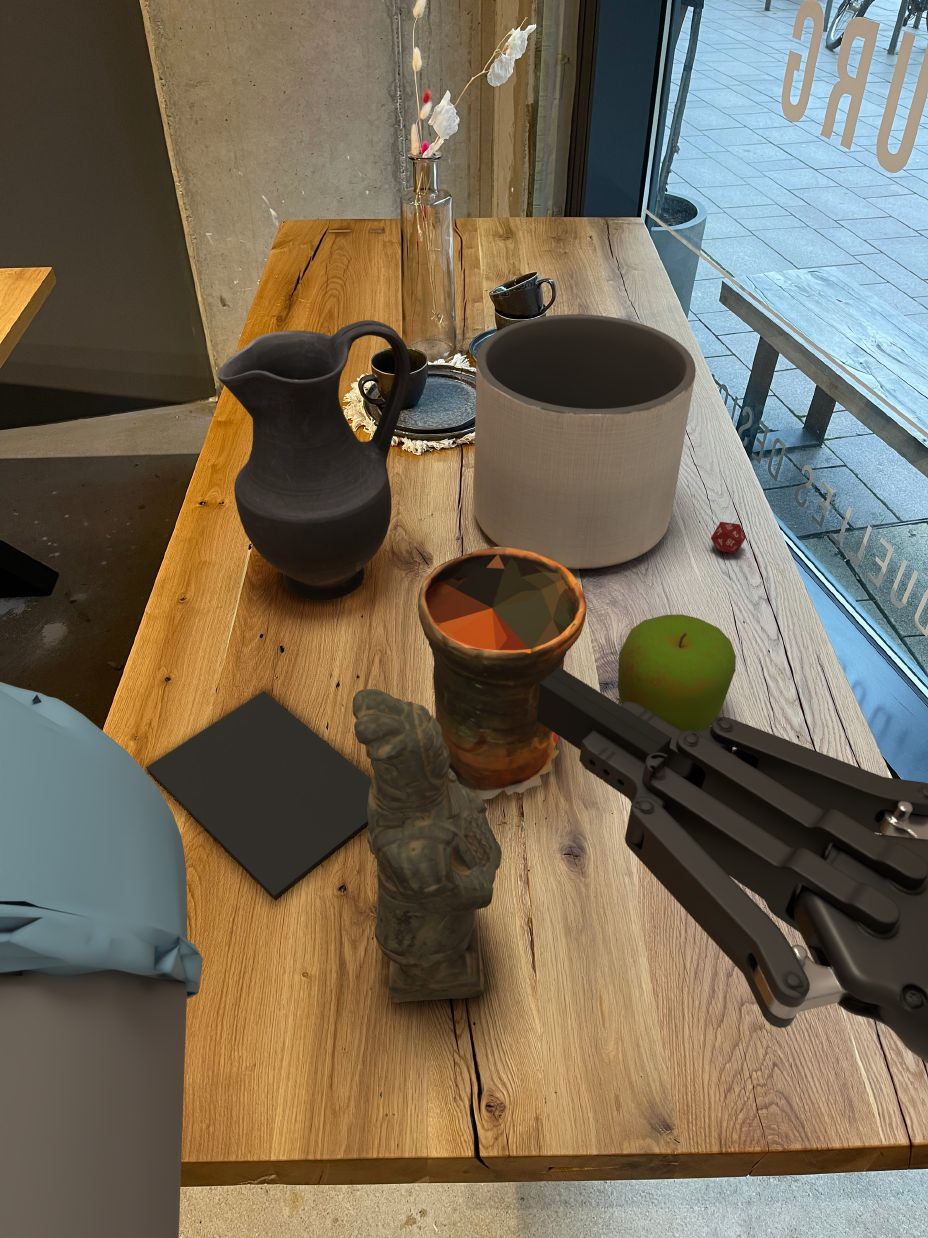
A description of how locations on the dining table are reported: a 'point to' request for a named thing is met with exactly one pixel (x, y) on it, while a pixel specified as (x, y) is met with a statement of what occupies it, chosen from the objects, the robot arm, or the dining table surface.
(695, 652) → the apple
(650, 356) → the planter
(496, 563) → the vessel
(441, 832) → the statue
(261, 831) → the mat
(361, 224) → the dining table surface
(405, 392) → the pitcher
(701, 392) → the dining table surface
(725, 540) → the dice
